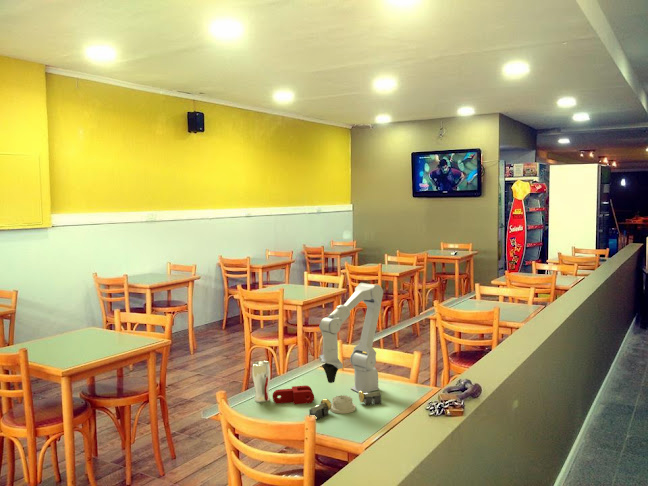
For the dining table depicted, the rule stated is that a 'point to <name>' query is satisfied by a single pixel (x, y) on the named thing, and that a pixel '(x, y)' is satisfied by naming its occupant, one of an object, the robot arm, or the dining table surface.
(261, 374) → the beer glass
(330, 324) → the robot arm
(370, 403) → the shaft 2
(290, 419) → the dining table surface
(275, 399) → the mechanical linkage
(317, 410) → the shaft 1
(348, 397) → the mechanical component
